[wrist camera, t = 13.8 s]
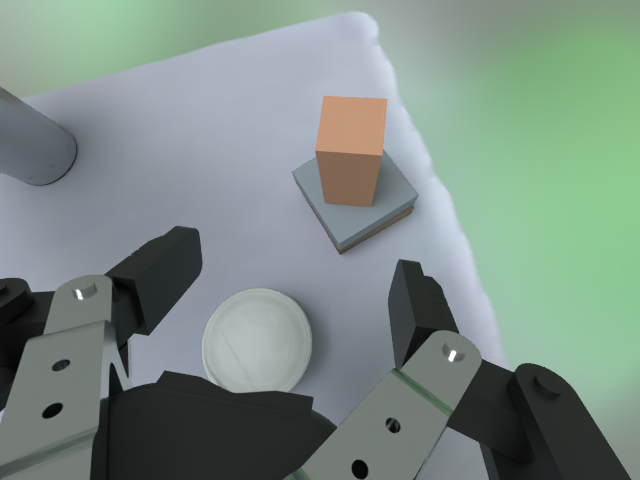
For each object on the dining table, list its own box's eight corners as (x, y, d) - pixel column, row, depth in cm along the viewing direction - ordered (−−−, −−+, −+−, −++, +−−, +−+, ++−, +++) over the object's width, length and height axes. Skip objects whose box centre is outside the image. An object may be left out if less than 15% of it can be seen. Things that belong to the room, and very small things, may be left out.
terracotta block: (324, 202, 32) (315, 150, 22) (330, 161, 33) (323, 95, 24) (371, 207, 31) (382, 155, 22) (375, 165, 32) (387, 99, 23)
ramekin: (205, 368, 34) (181, 378, 29) (245, 277, 36) (228, 271, 31) (294, 409, 32) (285, 427, 27) (330, 311, 34) (327, 310, 29)
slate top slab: (296, 183, 36) (291, 171, 33) (364, 142, 37) (366, 127, 34) (339, 250, 33) (338, 243, 31) (412, 205, 34) (418, 194, 31)
